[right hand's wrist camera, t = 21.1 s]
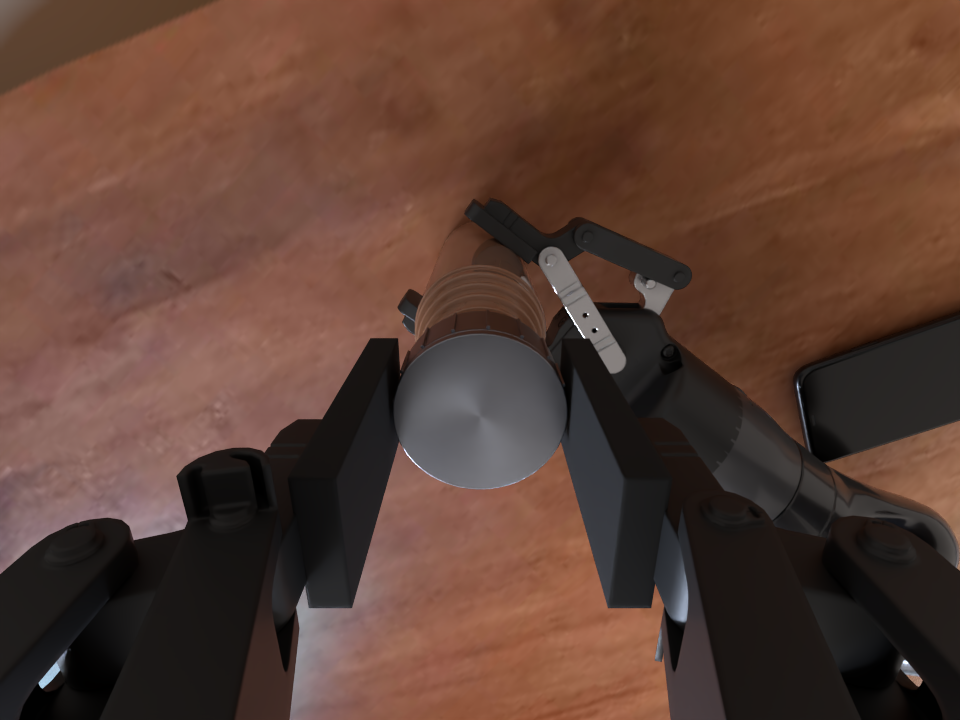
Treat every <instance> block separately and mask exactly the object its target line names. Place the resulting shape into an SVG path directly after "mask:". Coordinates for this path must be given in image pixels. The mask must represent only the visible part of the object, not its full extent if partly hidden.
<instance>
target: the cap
mask: <svg viewBox="0 0 960 720" xmlns="http://www.w3.org/2000/svg"><path fill="white" fill-rule="evenodd" d="M400 373H401V377H400V380H399V382H398V385H397V388H396V391H395V394H394V398H393V423H394V427H395V431H396V434H397V437H398V439H399V442H400V444H401V445H402V447H403V449H404V450H405V452H406V453H407V455H408V456H409V457H410V458H411V460H412V461H413V462H414V463H415V464H416V465H417V466H418V467H419V468H421V469H422V470H423V471H425V472H426V473H427V474H429V475H431V476H432V477H434V478H436V479H438V480H440V481H442V482H445V483H447V484H450V485H453V486H457V487H462V488H467V489H492V488H499V487H503V486H507V485H510V484H513V483H516V482H518V481H521V480H522V479H524V478H526V477H528V476H530V475H531V474H533V473H534V472H536V471H537V470H538V469H540V468H541V467H542V466H543V465H544V464H545V463H546V462H547V461H548V460H549V459H550V458H551V456H552V455H553V454H554V452H555V451H556V449H557V448H558V446H559V444H560V442H561V440H562V438H563V435H564V432H565V429H566V424H567V418H568V406H567V398H566V394H565V390H564V387H565V383H564V380H563V377H562V375H561V372H560V369H559V367H558V364H557V363H555V362H554V359H553V357H552V355H551V352H550V350H549V349H548V347H547V345H546V342H545V339H544V338H543V337H542V338H540V336H539V335H538V334H537V333H536V332H534V331H533V330H532V329H531V328H530V327H528V326H527V325H525V324H524V323H523V322H521V320H520V319H519V318H517V319H515V318H513V317H510V316H507V315H504V314H500V313H496V312H489V310H486V311H471V312H465V313H460V314H457V313H454V314H453V316H450V317H448V318H446V319H443V320H441V321H440V322H438V323H436V324H435V325H433V326H432V327H431V328H428V327H427V328H426V330H425V332H424V334H423V335H422V336H421V337H420V338H419V339H418V340H417V342H416V343H415V344H414V346H413V347H412V349H411V351H408V352H407V354H406V357H405V360H404V362H403V365H402V368H401V370H400Z"/></svg>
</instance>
